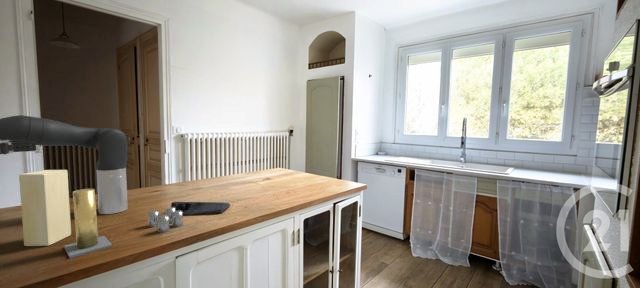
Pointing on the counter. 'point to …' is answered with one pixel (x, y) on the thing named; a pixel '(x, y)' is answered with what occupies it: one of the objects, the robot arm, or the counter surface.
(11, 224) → the counter surface
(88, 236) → the brass sleeve
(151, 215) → the steel spacer
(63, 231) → the cream rectangular block
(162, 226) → the steel spacer
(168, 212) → the steel spacer
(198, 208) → the dark slate chunk
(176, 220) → the steel spacer
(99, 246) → the slate pad
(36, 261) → the counter surface
